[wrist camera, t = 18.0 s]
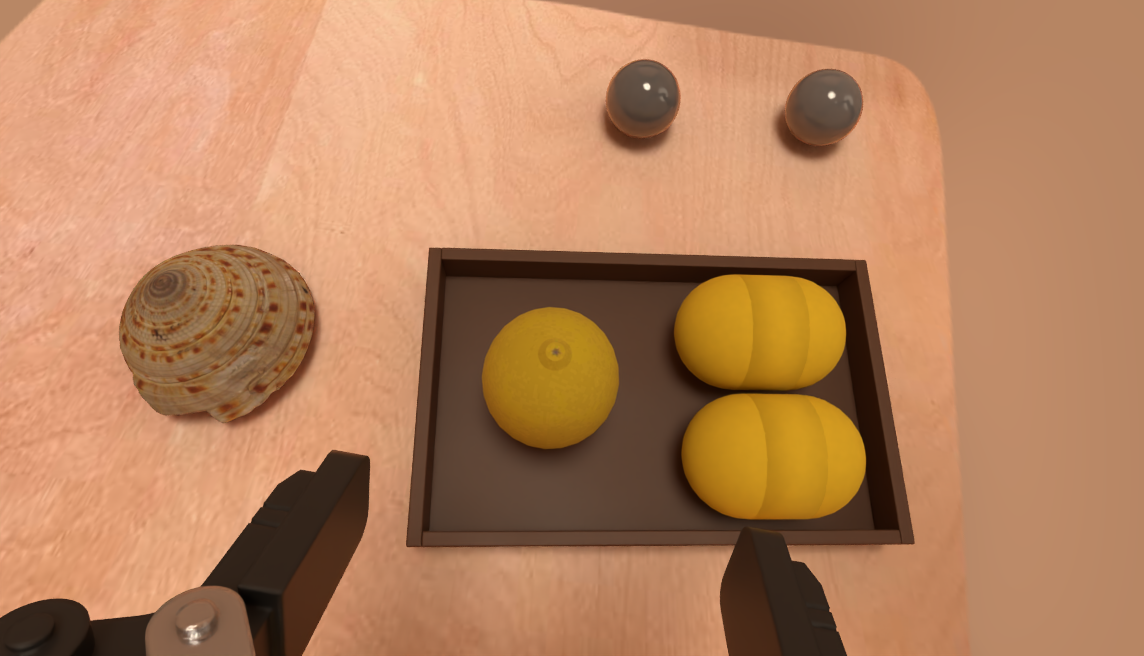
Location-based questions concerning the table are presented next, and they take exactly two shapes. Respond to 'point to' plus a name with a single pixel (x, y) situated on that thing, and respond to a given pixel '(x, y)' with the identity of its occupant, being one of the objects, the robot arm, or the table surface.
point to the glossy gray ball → (823, 107)
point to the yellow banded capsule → (773, 456)
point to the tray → (620, 408)
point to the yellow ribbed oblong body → (759, 332)
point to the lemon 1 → (550, 378)
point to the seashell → (216, 330)
